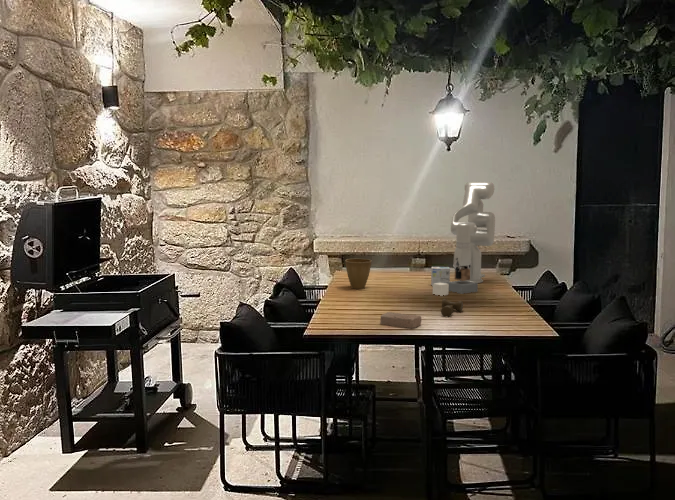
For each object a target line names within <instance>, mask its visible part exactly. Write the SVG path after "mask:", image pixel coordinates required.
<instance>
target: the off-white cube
mask: <svg viewBox="0 0 675 500" xmlns="http://www.w3.org/2000/svg"><path fill="white" fill-rule="evenodd" d="M449 292H450V291H449V284H446V283H434V284H433V286H432V295H433V294H435V295H434V296H438V295H440V296H439V297H444V296H448V295H449ZM443 295H444V296H443Z"/></svg>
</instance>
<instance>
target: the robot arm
mask: <svg viewBox="0 0 675 500" xmlns="http://www.w3.org/2000/svg"><path fill="white" fill-rule="evenodd" d="M494 193H495V185H494V182H491V181H469V182H466V183H465V184H464V195H463V201H462V206H460V207H459V208H458V209H457V210H456V211H455V213H454V214H453V216H452V217H451V223H450V232H451V234H452V235H454V236H456V240H455V241H456V242H455V248H454V253H453V265H452V266H453V268H454V272H455V271H456V278H458V279H461V272H460V271H461V268H466V269H470V280H466V281H468V282H473V283H478V284H479V283H480V284H481V283H483V282H484V279H482V278H485V276H486V275H485V273H482V250H481V249H480V248H479V246H481V247H482V246H483V247H484V246H485V247H489V246H492V245H494V242H495V231H496V230H495V229H496V216H495V214H494V212H492V211H484V202H483V201H482V200H490V199H491V198H492V197H493V195H494ZM466 216H467V221H459V220H460V219H462V218H464V217H466ZM478 228H480V229H478Z"/></svg>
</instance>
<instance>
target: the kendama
mask: <svg viewBox="0 0 675 500" xmlns="http://www.w3.org/2000/svg"><path fill="white" fill-rule="evenodd" d="M463 308H464V302H463V300H459V301H456V302H455V301H450V300H448V299H446V298H442V301H441V309H440V312H441V313H440V314H441V316H443V317H445V316H450V317H451V316H452V315H453V312H454V310H455V311H457V312H458V313H461V311H462V312H463Z"/></svg>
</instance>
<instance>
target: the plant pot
mask: <svg viewBox="0 0 675 500" xmlns="http://www.w3.org/2000/svg"><path fill="white" fill-rule="evenodd" d="M372 261H373V260H371V259H367V258H347V259H345V269H346V275H347V278H348V281H349V284H350V287H351V288H352V289H354V290H363V289H365V288H366V285H367V282H368V279H369V277H370V272H371V266H372Z"/></svg>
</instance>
